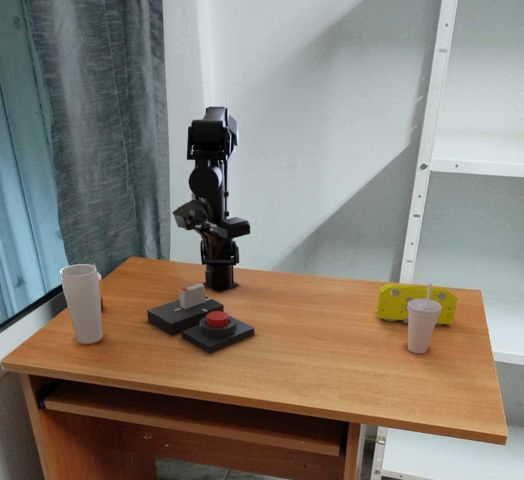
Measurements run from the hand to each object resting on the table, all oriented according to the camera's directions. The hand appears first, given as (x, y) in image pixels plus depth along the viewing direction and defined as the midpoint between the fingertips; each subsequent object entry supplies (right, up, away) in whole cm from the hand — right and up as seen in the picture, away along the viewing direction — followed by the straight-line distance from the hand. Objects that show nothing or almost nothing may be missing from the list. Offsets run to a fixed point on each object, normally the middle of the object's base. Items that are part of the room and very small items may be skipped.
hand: (212, 259), depth 117 cm
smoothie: (+42, -20, -9) cm, 47 cm away
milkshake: (-27, -11, +5) cm, 30 cm away
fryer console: (-6, -13, +1) cm, 14 cm away
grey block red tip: (-4, -10, +1) cm, 11 cm away
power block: (+2, -17, -6) cm, 18 cm away
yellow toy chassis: (+44, -13, +2) cm, 46 cm away
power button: (+2, -14, -7) cm, 16 cm away
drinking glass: (-24, -18, -7) cm, 31 cm away
